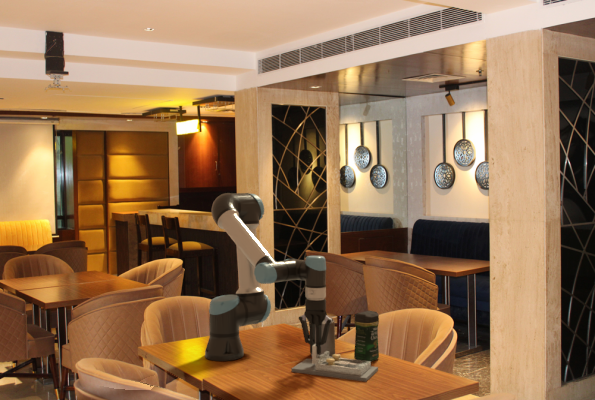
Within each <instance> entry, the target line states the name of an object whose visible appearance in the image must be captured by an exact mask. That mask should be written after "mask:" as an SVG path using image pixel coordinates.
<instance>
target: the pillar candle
mask: <svg viewBox="0 0 595 400" xmlns="http://www.w3.org/2000/svg"><path fill="white" fill-rule="evenodd" d="M325 323H326V322H325V319H324V321H323V322H322V335H323V331H324V326H325ZM335 328H336V327H335V320H334V319H333V321H332V323H331V324H330V328H329V332H328V336H327V341H326V343H325V344H323V345H321V354H323V353H324V352H326V351H329V356H330V357H332V355H333V354H336V333H335V332H336V331H335V330H336V329H335ZM315 342H316V325H315ZM314 344H316V343H314ZM321 354H319V356H320V355H321ZM310 355H311V357H312V354H310Z"/></svg>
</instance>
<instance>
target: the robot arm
mask: <svg viewBox="0 0 595 400" xmlns="http://www.w3.org/2000/svg"><path fill="white" fill-rule="evenodd" d="M264 214H265V205H264V203H263V201H262V198H261V197H259V195H257V194H255V193H249V192H245V193H244V192H241V193H239V192H238V193H237V192H236V193H233V192H231V193H230V192H227V193H226V192H225V193H222V194H220V195H219V196H217V197H216V198H215V200H213V203H212V206H211V216H212V218H213V221H214V222H215V224H216V225H217V227H218V228H219V229H220V230H224V231H225V232H226V234H227V235H228V236H229V237H230V239H231V240H232V241H233V242H234V244H235V245H236V260H237V271H238V272H237V273H238V274H237V275H238V287H239V288H238V289H237V290H236V292H235V294H224V295H223V294H222V295H220V296H218V295H217V296H216V297H214V298H212V299H211V300H210V302H209V309H208V312H209V313H208V314H209V337H208V340H207V345H206V347H205V352H204V358H206V359H207V360H210V361H215V362H228V361H235V360H239V359H241V358H244V357H245V356H244V355H245V354H244V352H245V350H244V346H243V344H242V341H241V337H240V328H241V327H246V326H251V325H258V324H259V323H263V322H265V321H267V319H268V317H269V316H270V314H271V309H272V303H271V299H269V296H268V295H266V294H265V290H264V289H263V288H262V287H261V285H263V284H264V285H265V284H270V285H271V284H273V283H280V282H287V281H289V282H291V281H296V280H298V281H304V284H305V287H304V288H305V294H304V295H305V302H304V303H305V304H304V306H305V308H304V309H305V310H304V313H303V314H302V315H300V316H298V320H299V322H300V324H301V329H302V334H303V338H304V342H305V343H306V344H308V345H309V353H310V355H311V354H312V356H311V359H312V364H315V358H317V357H318V356H319V354H321V345H323V344H325V343H326V341H327V336H328V332H329V328H330V324H331V323H332V321H333V320H334V319H333V318H332V317H329V316H328V313H327V310H326V309H327V299H326V297H327V285H326V283H327V282H326V281H327V263H326V258H325V256H323V255H307V256H306V257H305V260H303V259H297V258H287V259H284V260H278V261H277V260H276V259H275V258H274V257H273V256H272V255H271V254H270V253H269V251H268V250H267V249H266V247H265V246H264V245H263V244H262V243H261V242H260V241H259V239H258V238H257V228H258V227H259V226H260V220H261V219H263V217H264V216H263V215H264ZM324 319H325V322H326V323H325V326H324V331H323V335H322V322H323V321H324ZM307 321H308V323H307ZM315 325H316V342H315ZM314 343H316V344H314Z"/></svg>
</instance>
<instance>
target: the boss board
mask: <svg viewBox="0 0 595 400" xmlns="http://www.w3.org/2000/svg"><path fill="white" fill-rule="evenodd" d="M333 358H334V359H333ZM339 358H342V356H341V354H340V353H335V354H333V355H332V358H328V359H326V362H327V363H328V364H330V365H333V363H334V362H335V360H339ZM378 371H379V366H372V365H371V368H369V369H368V370H367V371H366V372H365V373H364V374H363V375H362V376H358V375H350V374H342V373H334V372H327V371H319V370H315V364H312V358H305V359H304V360H302V361H300V362H299V363H298V364H296V365H295V366H293V367H291V372H292V373H298V374H305V375H313V376H320V377H328V378H337V379H343V380H350V381H351V380H352V381H359V382H365V383H367V382H368V381H367V380H370V379H371V378H372V377H373V376H374V375H375V374H376V373H377V372H378Z"/></svg>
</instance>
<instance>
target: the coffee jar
mask: <svg viewBox="0 0 595 400" xmlns="http://www.w3.org/2000/svg"><path fill="white" fill-rule="evenodd" d="M379 323H380V316H379V313H378V312H377V311H373V310H367V311H361V312H357V313H356V314H354V326H355V339H354V341H355V342H354V355H353V357H354V358H353V359H356V360H364V361H371V362H373V361H376V360H378V359H379V358H380V356H379V355H380V353H379V352H380V351H379V333H378V332H379V330H378V329H379Z"/></svg>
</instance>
